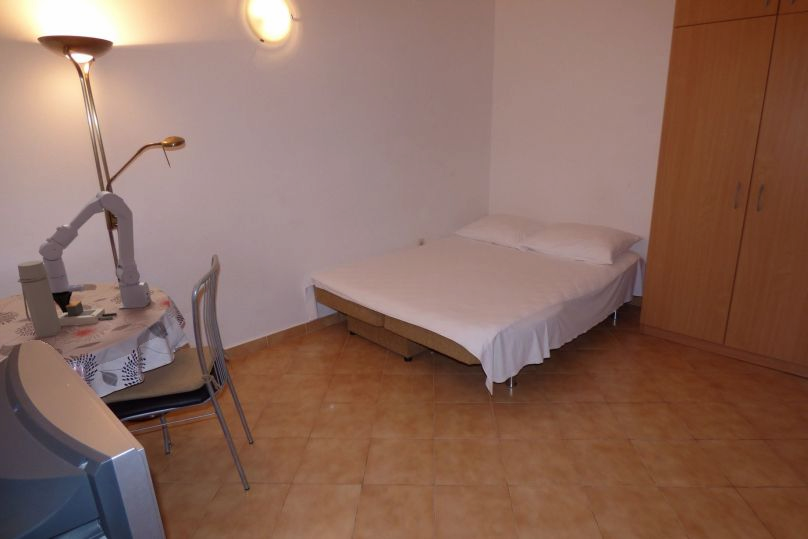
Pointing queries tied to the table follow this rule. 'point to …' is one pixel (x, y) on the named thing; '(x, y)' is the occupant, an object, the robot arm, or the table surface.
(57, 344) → the table surface
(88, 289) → the table surface
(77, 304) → the knob
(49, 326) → the water bottle
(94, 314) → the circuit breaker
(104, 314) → the cord
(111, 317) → the cord
